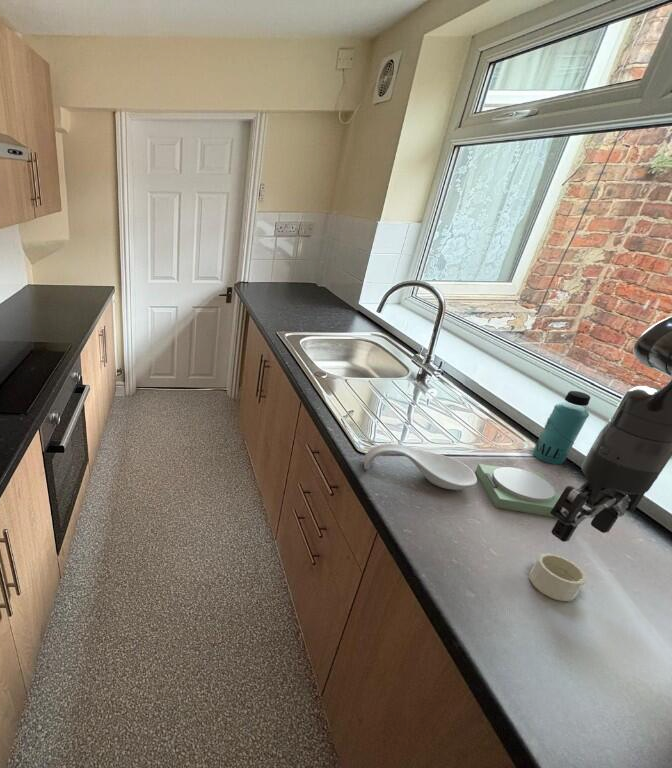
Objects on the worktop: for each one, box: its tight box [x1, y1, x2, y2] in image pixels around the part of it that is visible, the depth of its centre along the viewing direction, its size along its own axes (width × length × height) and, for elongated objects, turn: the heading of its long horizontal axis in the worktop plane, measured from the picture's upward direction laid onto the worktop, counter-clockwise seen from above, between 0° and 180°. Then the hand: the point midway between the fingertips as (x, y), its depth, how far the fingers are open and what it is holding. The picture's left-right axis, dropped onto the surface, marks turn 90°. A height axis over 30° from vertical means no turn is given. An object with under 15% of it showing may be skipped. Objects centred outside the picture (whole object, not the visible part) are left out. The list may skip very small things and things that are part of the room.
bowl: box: [528, 553, 587, 602], centre depth 74 cm, size 6×6×5 cm
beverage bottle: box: [532, 390, 591, 465], centre depth 102 cm, size 6×7×20 cm
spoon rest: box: [363, 443, 478, 491], centre depth 101 cm, size 24×12×7 cm, turn 70°
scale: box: [474, 463, 563, 518], centre depth 95 cm, size 13×13×4 cm
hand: (579, 533), depth 69 cm, fingers open, 8 cm apart
